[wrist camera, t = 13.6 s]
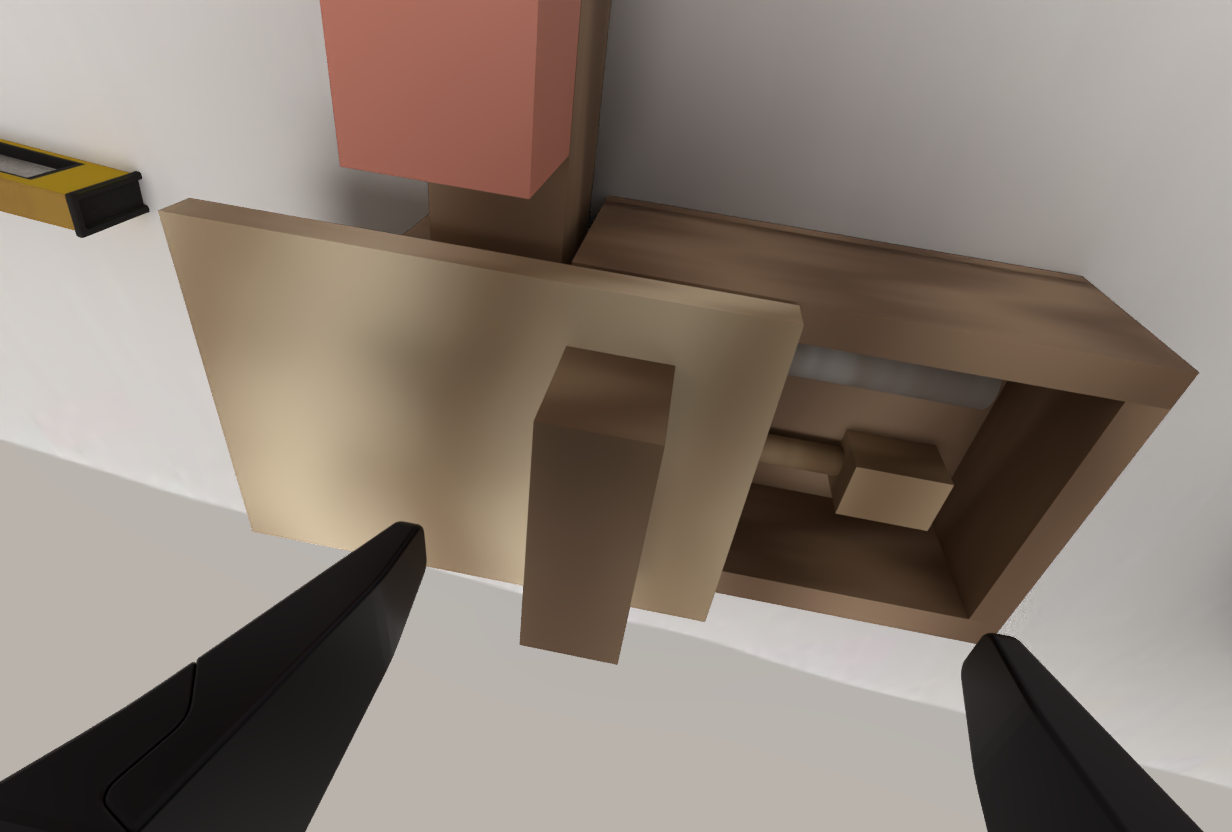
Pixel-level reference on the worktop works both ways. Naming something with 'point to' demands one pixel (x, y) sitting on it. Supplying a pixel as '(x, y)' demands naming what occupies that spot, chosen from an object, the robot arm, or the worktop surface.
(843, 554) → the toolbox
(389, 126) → the pink rectangular block
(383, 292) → the lid
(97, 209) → the spirit level
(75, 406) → the worktop surface
